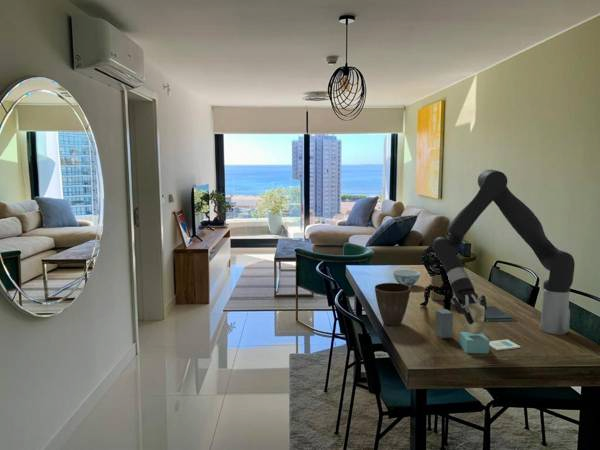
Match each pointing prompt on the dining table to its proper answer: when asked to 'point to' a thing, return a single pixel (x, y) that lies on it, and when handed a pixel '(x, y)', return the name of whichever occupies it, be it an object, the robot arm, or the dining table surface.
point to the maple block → (476, 319)
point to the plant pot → (392, 302)
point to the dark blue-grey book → (497, 315)
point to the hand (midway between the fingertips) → (478, 322)
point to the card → (503, 344)
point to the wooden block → (438, 282)
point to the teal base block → (474, 343)
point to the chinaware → (406, 277)
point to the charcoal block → (444, 323)
